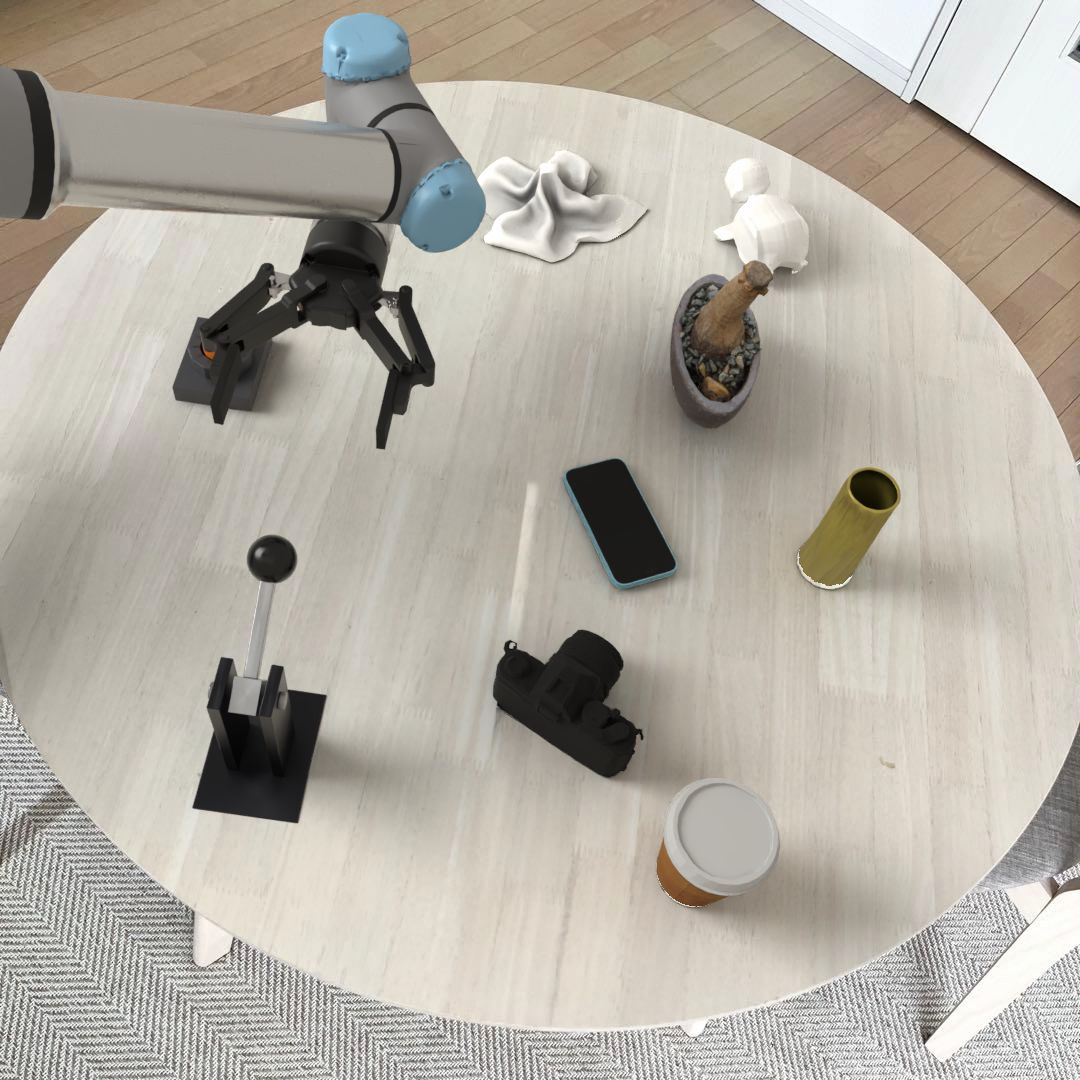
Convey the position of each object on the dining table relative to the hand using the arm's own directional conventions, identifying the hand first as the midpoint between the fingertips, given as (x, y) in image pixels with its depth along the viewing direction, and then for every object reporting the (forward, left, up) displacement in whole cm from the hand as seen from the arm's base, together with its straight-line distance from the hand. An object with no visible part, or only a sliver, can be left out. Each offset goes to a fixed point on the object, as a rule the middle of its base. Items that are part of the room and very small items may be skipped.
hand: (298, 427), depth 94 cm
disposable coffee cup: (+39, -26, -21) cm, 51 cm away
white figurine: (+44, +54, -21) cm, 73 cm away
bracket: (0, -21, -21) cm, 30 cm away
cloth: (+19, +55, -21) cm, 62 cm away
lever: (0, -14, -8) cm, 16 cm away
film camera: (+27, -12, -21) cm, 36 cm away
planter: (+38, +29, -21) cm, 53 cm away
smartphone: (+30, +9, -21) cm, 38 cm away
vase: (+52, +8, -21) cm, 57 cm away
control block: (-14, +21, -21) cm, 33 cm away
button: (-14, +21, -18) cm, 31 cm away
